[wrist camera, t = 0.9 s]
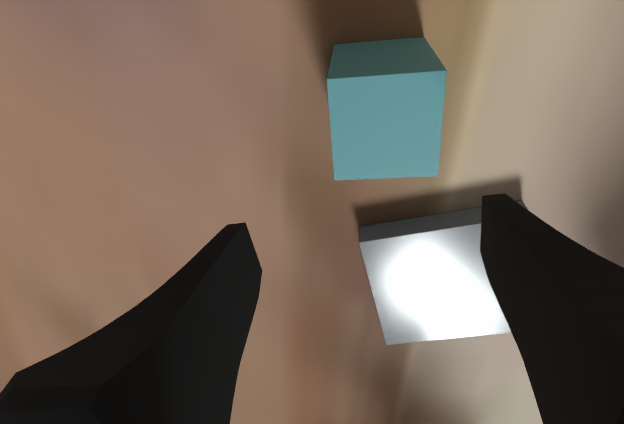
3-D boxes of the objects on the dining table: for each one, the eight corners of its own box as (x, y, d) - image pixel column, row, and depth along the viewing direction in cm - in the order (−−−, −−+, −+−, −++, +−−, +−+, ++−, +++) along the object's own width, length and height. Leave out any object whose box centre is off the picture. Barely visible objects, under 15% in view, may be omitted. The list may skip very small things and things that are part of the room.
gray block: (518, 195, 23) (531, 215, 21) (518, 306, 27) (529, 330, 26) (358, 221, 25) (359, 242, 23) (384, 321, 29) (386, 345, 28)
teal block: (423, 36, 18) (446, 70, 14) (419, 122, 20) (437, 176, 16) (333, 44, 19) (326, 79, 14) (339, 126, 21) (334, 180, 16)
